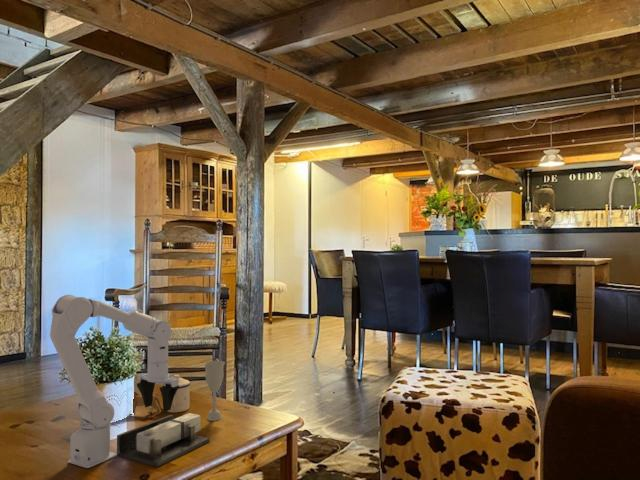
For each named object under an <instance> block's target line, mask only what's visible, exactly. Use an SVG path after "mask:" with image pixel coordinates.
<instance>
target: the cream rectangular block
mask: <svg viewBox="0 0 640 480" xmlns="http://www.w3.org/2000/svg"><path fill="white" fill-rule="evenodd" d="M190 425H195V433H197V432H200V431H201V414H196V413H190V412H189V413H186V414H183V415H181V416H178V417H176V418H174V419H172V420H170V421H168V422H165V423H163V424H160V425H158V426H155V427H153V428H150V429H148V430H145V431H143V432H140V433H138V434H137V451H141V452H145V453H148V454H149V453H151V452H153V441H155V440H157V439H160V440H161V448H162V447H164V446H167V445H169V444H171V443H173V442H175V441H178V440H180V439H182V438H184V437H187V436H188V426H190Z"/></svg>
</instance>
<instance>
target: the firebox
mask: <svg viewBox="0 0 640 480" xmlns="http://www.w3.org/2000/svg"><path fill="white" fill-rule="evenodd" d="M172 419H175V418H174V414H169V415H166V416H164V417H161V418H159V419H156V420H154V421H151V422H148V423H145V424H143V425H139V426H138V427H135V428H132V429H130V430H128V431H125V432H122V433H120V434H117V435H116V454H117V456H116V457H120V458H124V459H127V460H131V461H134V462H137V463H140V464H141V463H142V464H145V465H149V466H151V467H156V468H158V467H160V466H163V465H165V464H167V463H169V462H171V461H173V460H175V459H177V458H179V457H181V456H183V455H186V454H187V453H189V452H191V451H193V450H196V449H197V448H199V447H202V446H203V445H206V444H208V443H210V438H209V437H206V436H201V435H199V434H198V435H197V434H196V432H195V425H190V426H188V436H187V437H184V438H182V439H180V440H178V441H175V442H173V443H171V444H169V445H167V446H164V447H162V448H161V440H160V439H157V440H155V441H153V452H151V453H149V454H148V453H145V452H141V451H137V434H138V433H140V432H143V431H145V430H148V429H150V428H153V427H155V426H158V425H160V424H163V423H165V422H168V421H170V420H172Z"/></svg>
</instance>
